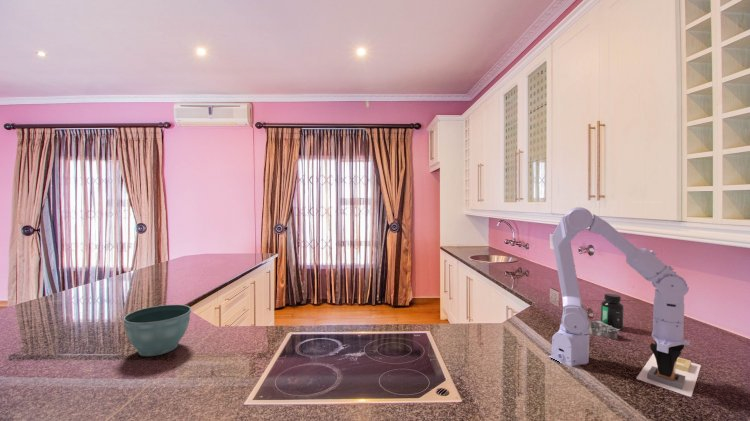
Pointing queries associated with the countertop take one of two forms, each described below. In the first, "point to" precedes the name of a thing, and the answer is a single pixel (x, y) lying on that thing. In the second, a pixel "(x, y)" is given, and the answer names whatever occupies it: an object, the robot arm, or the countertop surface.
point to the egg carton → (602, 329)
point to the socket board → (683, 376)
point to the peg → (671, 375)
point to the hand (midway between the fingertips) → (666, 372)
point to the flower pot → (157, 328)
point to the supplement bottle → (612, 311)
